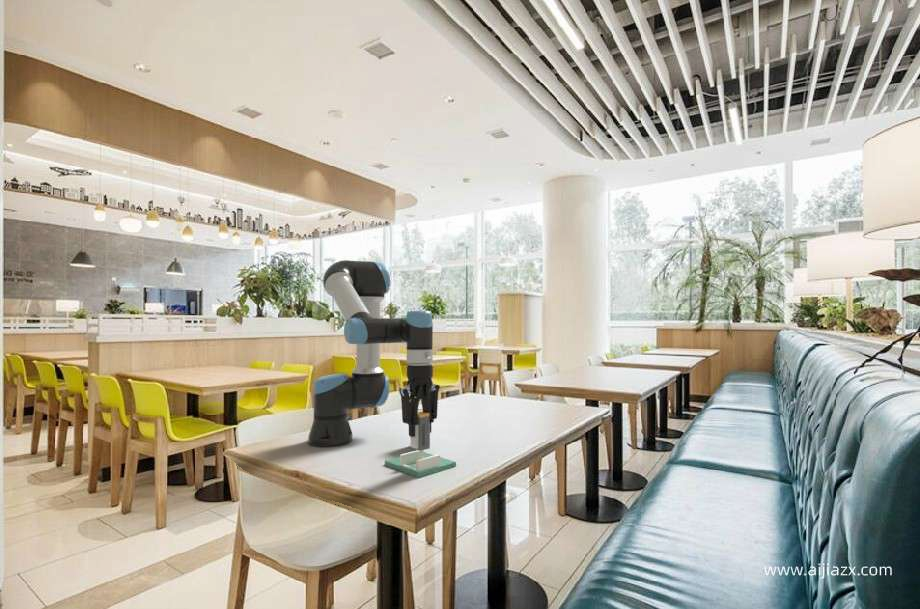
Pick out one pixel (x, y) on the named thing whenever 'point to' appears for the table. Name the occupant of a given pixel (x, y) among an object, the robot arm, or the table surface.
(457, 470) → the table surface
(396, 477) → the table surface
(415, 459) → the board
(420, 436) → the plug
